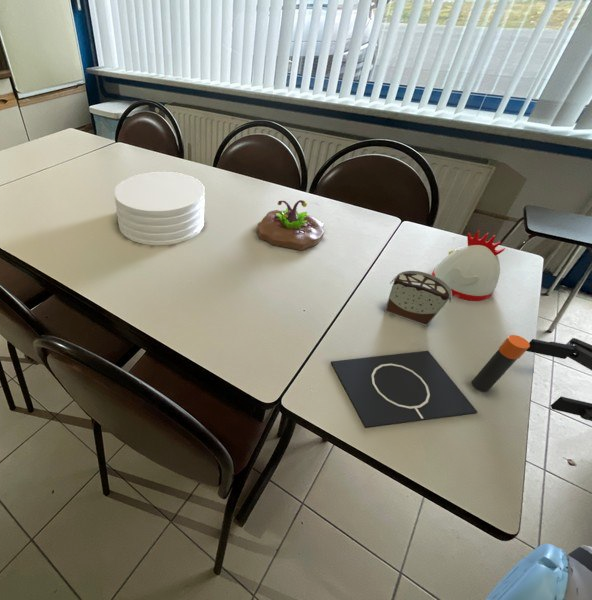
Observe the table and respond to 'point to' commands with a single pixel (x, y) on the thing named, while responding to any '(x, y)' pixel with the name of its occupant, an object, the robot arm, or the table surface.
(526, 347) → the marker
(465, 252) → the kitchen timer
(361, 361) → the desk mat
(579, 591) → the robot arm
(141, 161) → the table surface
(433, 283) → the food container
